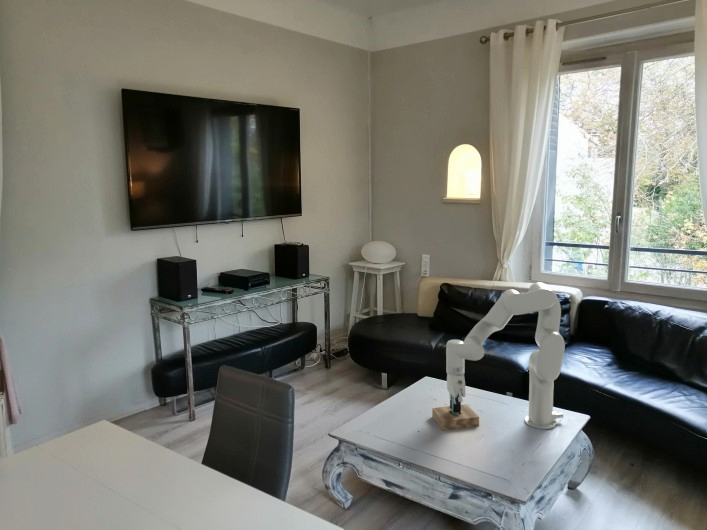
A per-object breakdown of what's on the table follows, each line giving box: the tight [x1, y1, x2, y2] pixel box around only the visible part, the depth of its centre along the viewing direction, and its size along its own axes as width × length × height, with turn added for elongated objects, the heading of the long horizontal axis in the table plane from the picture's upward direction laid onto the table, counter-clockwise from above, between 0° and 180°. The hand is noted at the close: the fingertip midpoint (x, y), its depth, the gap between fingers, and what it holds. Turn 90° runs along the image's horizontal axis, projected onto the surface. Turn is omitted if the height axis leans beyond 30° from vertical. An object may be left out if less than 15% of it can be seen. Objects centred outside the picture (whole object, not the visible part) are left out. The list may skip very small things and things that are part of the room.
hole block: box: [431, 403, 480, 431], centre depth 231 cm, size 16×13×4 cm
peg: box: [452, 395, 459, 415], centre depth 230 cm, size 3×3×10 cm
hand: (455, 409), depth 230 cm, fingers closed on peg, 3 cm apart
